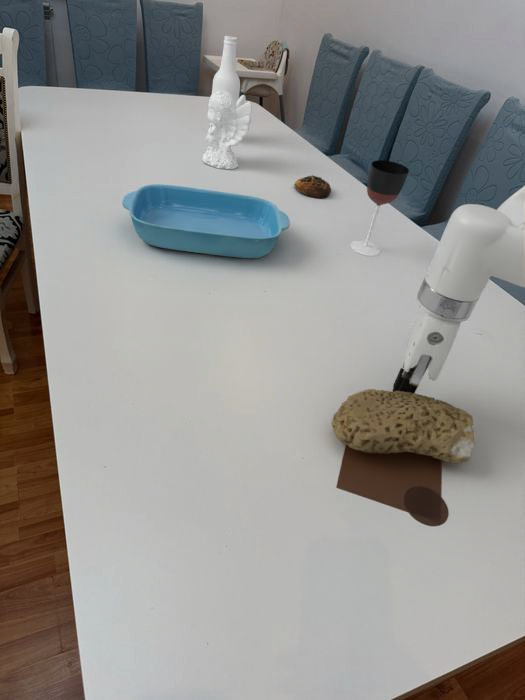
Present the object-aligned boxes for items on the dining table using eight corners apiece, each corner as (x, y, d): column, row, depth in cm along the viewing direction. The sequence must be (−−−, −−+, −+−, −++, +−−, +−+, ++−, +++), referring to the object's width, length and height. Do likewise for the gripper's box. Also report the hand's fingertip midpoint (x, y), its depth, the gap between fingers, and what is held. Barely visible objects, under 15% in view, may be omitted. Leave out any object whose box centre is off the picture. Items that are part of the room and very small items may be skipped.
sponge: (451, 428, 80) (339, 376, 79) (482, 405, 74) (361, 348, 73) (445, 502, 71) (320, 444, 71) (479, 483, 65) (343, 419, 65)
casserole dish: (281, 224, 125) (286, 197, 121) (288, 270, 108) (295, 241, 103) (131, 207, 120) (131, 178, 116) (115, 252, 103) (113, 220, 99)
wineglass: (388, 253, 121) (416, 173, 109) (361, 258, 117) (387, 175, 105) (368, 238, 126) (392, 159, 114) (341, 242, 122) (363, 161, 110)
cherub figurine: (199, 152, 156) (204, 82, 144) (238, 155, 159) (246, 87, 147) (203, 168, 147) (209, 94, 134) (245, 171, 149) (254, 99, 137)
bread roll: (321, 201, 140) (323, 183, 137) (286, 193, 144) (288, 176, 141) (337, 192, 148) (339, 175, 145) (304, 185, 152) (305, 169, 149)
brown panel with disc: (355, 399, 80) (355, 399, 80) (448, 428, 78) (448, 428, 78) (334, 493, 65) (335, 493, 65) (448, 532, 63) (448, 532, 63)
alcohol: (204, 138, 167) (211, 35, 148) (214, 132, 174) (222, 32, 155) (228, 144, 166) (239, 41, 147) (237, 138, 173) (249, 38, 154)
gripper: (476, 335, 61) (423, 433, 73) (472, 279, 73) (427, 371, 84) (416, 318, 62) (373, 416, 74) (422, 265, 74) (384, 357, 85)
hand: (402, 392), depth 79 cm, fingers closed
